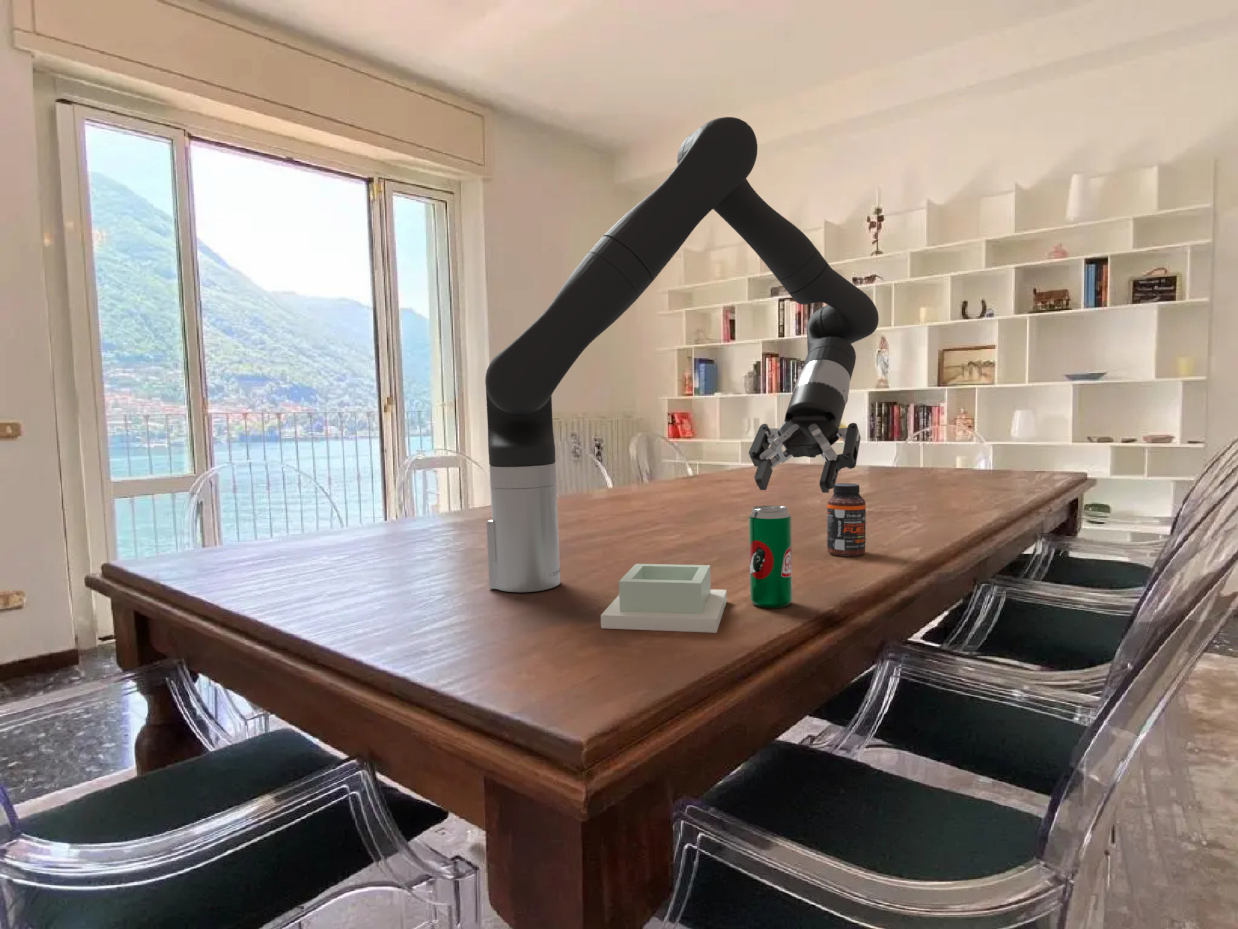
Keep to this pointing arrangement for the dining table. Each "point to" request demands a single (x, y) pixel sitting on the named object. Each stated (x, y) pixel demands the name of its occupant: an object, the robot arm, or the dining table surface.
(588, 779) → the dining table surface
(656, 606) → the socket holder
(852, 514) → the supplement bottle
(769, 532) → the soda can
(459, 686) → the dining table surface
